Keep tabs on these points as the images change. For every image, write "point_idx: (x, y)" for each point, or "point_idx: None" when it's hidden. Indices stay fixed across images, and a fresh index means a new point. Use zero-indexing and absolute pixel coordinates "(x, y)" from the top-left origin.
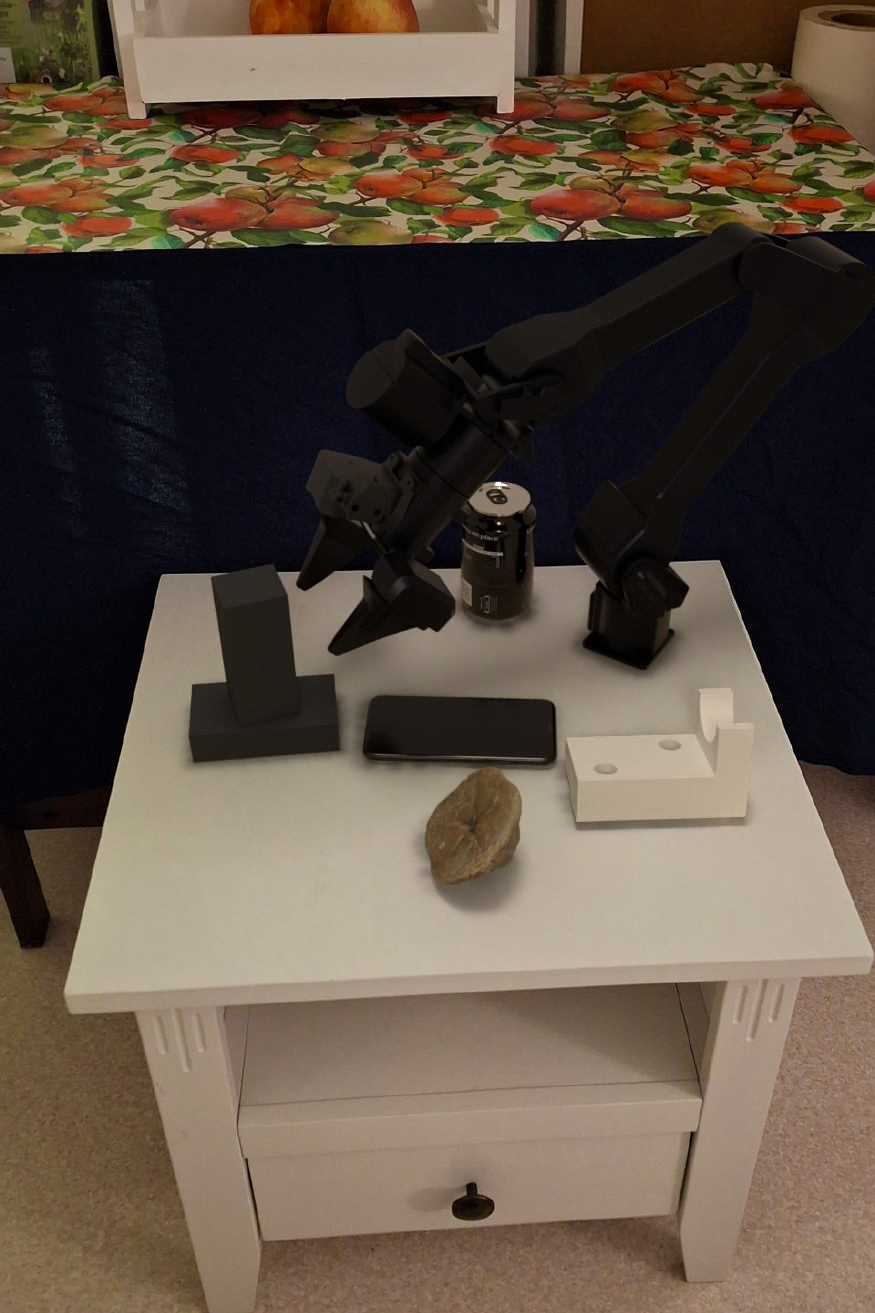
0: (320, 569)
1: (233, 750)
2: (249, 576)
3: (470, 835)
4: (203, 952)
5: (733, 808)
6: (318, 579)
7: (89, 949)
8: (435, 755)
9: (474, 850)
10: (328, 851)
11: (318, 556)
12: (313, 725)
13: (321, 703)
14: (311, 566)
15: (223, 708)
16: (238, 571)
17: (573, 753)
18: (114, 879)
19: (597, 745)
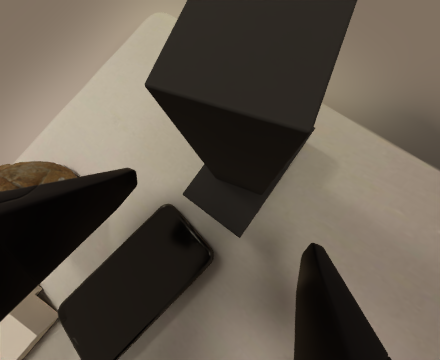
0: (308, 309)
1: None
2: (292, 43)
3: (23, 185)
4: (130, 55)
5: None
6: (299, 289)
7: (171, 17)
8: (125, 242)
9: (6, 174)
10: (131, 137)
11: (329, 333)
12: (195, 177)
13: (212, 200)
14: (320, 293)
15: None
16: (341, 31)
17: (11, 319)
18: None
19: (5, 346)
